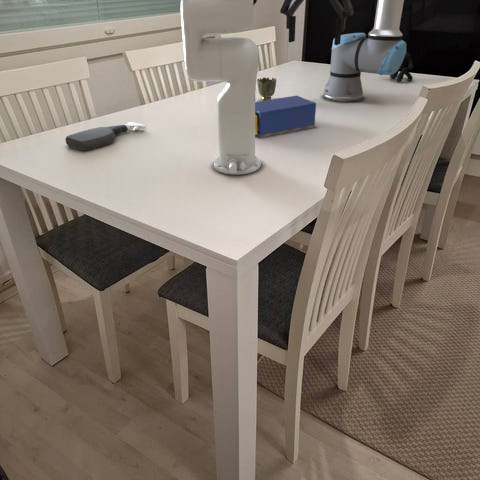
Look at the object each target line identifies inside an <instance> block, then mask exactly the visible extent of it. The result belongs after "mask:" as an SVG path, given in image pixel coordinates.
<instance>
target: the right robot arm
mask: <svg viewBox="0 0 480 480" xmlns="http://www.w3.org/2000/svg"><path fill="white" fill-rule="evenodd" d="M304 1H305V0H294V2H293V0H284V1H283V3H282V5H281V7H280V10H279V12H280V14H283V15H285V18H286V22H285V23H286V26H285V27H286V29H287V30H288V43H293V42H295V41H296V21H297V15H294V14H295V13H296V11H297V10H298V9H299V8H300V6H301V5H302V4H303V2H304ZM328 1H329V3H330V4H331V6H332V8H334V10H335V12H336V14H337V16H338V17H337V18H336V19H335V20H336V21H335V31H334V38H333V40H332V46H331V54H330V55H331V57H330V70H329V77H328V80H327V83H326V84H325V86H324V87H325V88H324V90H323V95H322V96H323V98H324V99H325V100H328V101H330V102H337V103H353V102H359V101H362V100H363V96H364V91H363V86H362V81H361V74H362V73H367V74H375V75H380V76H390V75H392V74H394V73H396V72H397V70H398V69H399V70H400V66H401V64H402V62H403V60H404V57H405V53H406V52H407V42H406V41H404V40H402V39H403V33H402V32H401V31H400V26H401V19H402V14H403V7H404V2H405V0H377V4H376V10H375V17H374V25H373V28H372V29H371V31H369V32H368V34H367V35H366V33H365V32H353V33H345V34H342V32H345V30H346V24H347V23H346V21H347V18H348V17H350V16H353V15H354V13H355V12H354V11H355V10H354V8H353V5H352V2H351V0H341V2H342V4H341V2H340V1H339V0H328Z"/></svg>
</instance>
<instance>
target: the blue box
mask: <svg viewBox="0 0 480 480" xmlns="http://www.w3.org/2000/svg"><path fill="white" fill-rule="evenodd" d="M316 112H317V103H316V102H314V101H312V100H309V99H306V98H304V97H301V96H299V95H290V96H285V97H278V98H273V99H272V98H271V100H265V101H263V100H260V101H255V113H257V114H259V115H260V118H259V131H257V135H256V136H257V137H259V138H266V137H273V136H277V135H278V136H279V135H281V134H282V135H283V134H288V133H292V132H297V131H302V130H303V131H304V130H308V129H313V128H315V127H316Z"/></svg>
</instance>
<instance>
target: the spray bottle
mask: <svg viewBox="0 0 480 480" xmlns="http://www.w3.org/2000/svg"><path fill="white" fill-rule="evenodd" d="M142 129H143V130H145V129H147V126H146V125H144V124H141V123H137V122H133V121H128V123H125V124H118V125H111V126H99V127H93V128H90V129H85V130H81V131H78V132H75V133H72V134H68V135H67V136H66V137H65V139H64V140H65V143H66V145H67V146H68V147H70V148H73V149H75V150H78V151H81V152H86V151H90V150H94V149H98V148H100V147H104V146H107V145H109V144H112V143H114V140H115V138H116V136H117V135H119V134H122V133H123V134H124V133H127V132H128V131H132V132H134V131H136V130H142Z"/></svg>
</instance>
